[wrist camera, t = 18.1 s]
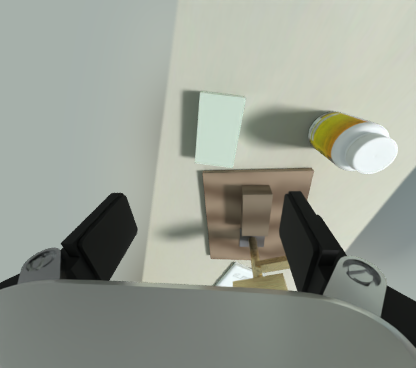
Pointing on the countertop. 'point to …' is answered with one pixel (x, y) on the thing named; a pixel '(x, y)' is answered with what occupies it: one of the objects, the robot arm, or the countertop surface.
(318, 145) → the supplement bottle
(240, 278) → the external hard drive
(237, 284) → the key
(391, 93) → the countertop surface
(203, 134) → the mint green block
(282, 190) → the base
